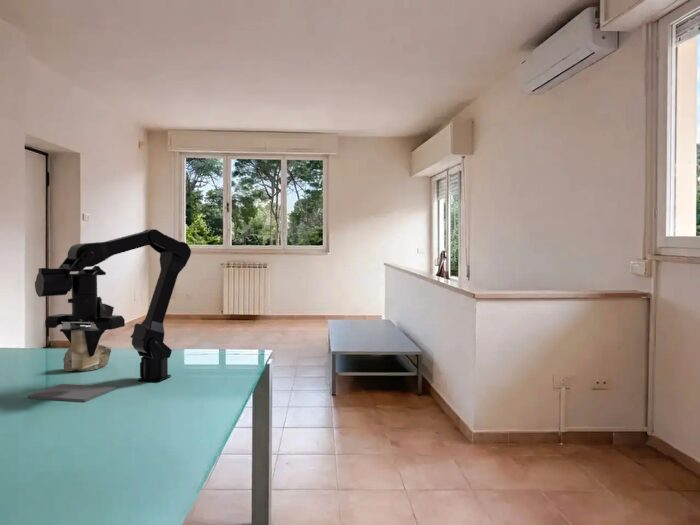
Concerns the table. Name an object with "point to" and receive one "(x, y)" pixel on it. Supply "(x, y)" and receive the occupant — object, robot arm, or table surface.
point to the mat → (72, 392)
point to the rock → (103, 361)
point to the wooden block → (82, 350)
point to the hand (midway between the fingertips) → (85, 355)
